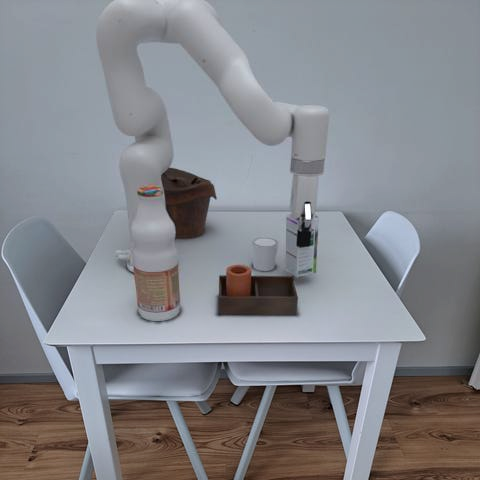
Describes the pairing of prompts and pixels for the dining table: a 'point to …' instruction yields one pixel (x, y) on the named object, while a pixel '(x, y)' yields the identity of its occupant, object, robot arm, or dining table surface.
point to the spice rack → (261, 297)
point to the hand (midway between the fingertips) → (300, 239)
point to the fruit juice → (155, 257)
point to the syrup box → (300, 248)
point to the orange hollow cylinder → (238, 280)
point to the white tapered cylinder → (264, 253)
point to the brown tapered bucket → (187, 201)
